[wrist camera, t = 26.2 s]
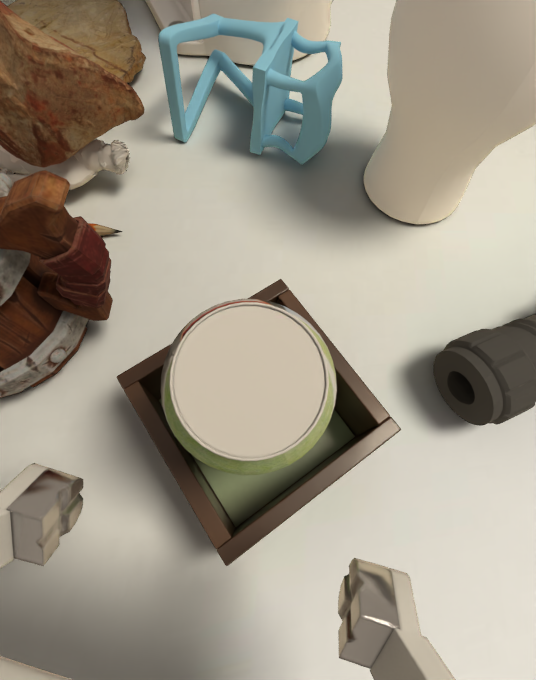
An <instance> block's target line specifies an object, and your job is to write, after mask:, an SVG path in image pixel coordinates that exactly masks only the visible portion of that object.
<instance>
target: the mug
mask: <svg viewBox="0 0 536 680" xmlns="http://www.w3.org/2000/svg"><path fill="white" fill-rule="evenodd" d="M69 187H70V183H69V182H68V180H67V179H65V178H63V177H60V176H58V175H56V174H54V173H51V172H49V171H47V170H43V171H39V172H36V173H34V174H31V175H29V176H27V177H24V178H22V179H20V180H17V181H15V182H14V184H13V186H12V181H11V179H10V178H9V177H8V176H7V175H6V174H4V173H1V172H0V398H1V397H5V396H8V395H12V394H16V393H20V392H22V391H23V390H24V389H25V388H27V387H29V386H31V387H35V386H36V385H38V384H40V383H41V382H43V381H45V380H46V379H48V378H50V377H51V376H53V375H55V374H56V373H57V372H58V371H59V370H60V369H61V368H62V367H63V366H64V365H65V364H66V363H67V361H68V360H69V359H70V358H71V357H72V356H73V355H74V354H75V353H76V352H77V351H78V349H79V347H80V344H81V342H82V340H83V338H84V336H85V333H86V331H87V328H86V327H85V326H86V324H87V322H88V320H93V321H99V320H107V319H108V318H109V314H110V310H111V305H112V301H113V300H112V298H111V296H110V294H109V293H108V287H109V284H110V268H111V259H110V258H109V251H108V250H107V249H106V248H105V245H106V244H105V242H104V241H103V239H102V237H101V236H100V235H99V234H98V233H97V232H96V231H95V230H94V229H93V228H92V227H91V226H90V225H89V224H88V223H87V222H86V221H85V220H84V219H83V218H82V217H81V216H80V217H75V218H73V217H71V216H70V215H69V213H68V212H67V210H66V208H65V207H64V203H65V200H66V196H67V193H68V190H69Z"/></svg>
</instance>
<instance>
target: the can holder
mask: <svg viewBox="0 0 536 680" xmlns="http://www.w3.org/2000/svg"><path fill="white" fill-rule="evenodd" d="M248 299H259V300H265V301H271V302H274V303H277V304H280V305H282V306H285V307H287V308H289V309H291V310H292V311H294V312H296V313H298V314H299V315H300V316H302V317H303V318H304V319H305V320H307V321H308V322H309V323H310V324H311V325H312V326H313V327H314V329H315V330H316V331H317V332H318V333H319V334H320V336H321V337H322V339H323V341H324V342H325V344H326V345H327V347H328V350H329V352H330V355H331V357H332V360H333V364H334V368H335V373H336V385H337V392H336V400H335V406H334V409H333V413H332V416H331V419H330V422H329V423H328V425H327V427H326V429H325V431H324V433H323V435H322V436H321V437H320V439H319V440H318V441H317V443H316V444H315V445H314V447H313V448H311V449H310V450H309V451H308V452H307V453H306V454H305V455H304V456H303V457H301V458H300V459H298V460H297V461H295V462H294V463H292V464H290V465H289V466H287V467H284V468H282V469H279V470H277V471H274V472H270V473H265V474H260V475H237V474H231V473H226V472H223V471H220V470H217V469H215V468H212V467H210V466H208V465H206V464H205V463H203V462H201V461H200V460H198V459H196V458H195V457H194V456H193V455H192V454H191V453H189V452H188V451H187V450H186V449H185V448H184V447H183V446H182V444H181V443H180V442H179V440H178V439H177V438H176V437H175V435H174V433H173V432H172V430H171V428H170V426H169V424H168V422H167V419H166V416H165V413H164V410H163V407H162V399H161V374H162V370H163V366H164V361H165V358H166V356H167V354H168V351H169V349H170V347H171V345H172V344H171V345H169V346H167V347H165V348H164V349H162V350H160V351H159V352H157V353H155V354H154V355H152V356H150V357H149V358H147V359H145V360H144V361H142V362H140V363H139V364H137V365H135V366H134V367H132V368H130V369H128V370H127V371H125V372H123V373H122V374H120V375H118V376H117V379H118V381H119V383H120V384H121V386H122V388H123V389H124V391H125V393H126V395H127V397H128V398H129V400H130V402H131V403H132V405H133V407H134V409H135V410H136V412H137V414H138V416H139V417H140V419H141V421H142V422H143V424H144V426H145V428H146V429H147V431H148V433H149V435H150V436H151V438H152V440H153V441H154V443H155V445H156V447H157V448H158V450H159V452H160V454H161V455H162V457H163V459H164V460H165V462H166V464H167V466H168V467H169V469H170V471H171V472H172V474H173V476H174V478H175V479H176V481H177V483H178V485H179V486H180V488H181V490H182V491H183V493H184V495H185V497H186V498H187V500H188V502H189V504H190V505H191V507H192V509H193V510H194V512H195V514H196V516H197V517H198V519H199V521H200V523H201V524H202V526H203V528H204V529H205V531H206V533H207V535H208V536H209V538H210V540H211V541H212V543H213V545H214V547H215V548H216V549H217V548H218V549H217V552H218V553H219V555H220V557H221V559H222V560H223V562H224V564H225V565H226V566H228V565H229V564H230V563H232V562H233V561H234V560H236V559H237V558H238V557H239V556H241V555H242V554H243V553H245V552H246V551H247V550H248V549H250V548H251V547H252V546H254V545H255V544H256V543H257V542H259V541H260V540H261V539H262V538H264V537H265V536H266V535H268V534H269V533H270V532H271V531H273V530H274V529H275V528H277V527H278V526H279V525H280V524H282V523H283V522H284V521H285V520H287V519H288V518H289V517H291V516H292V515H293V514H294V513H296V512H297V511H298V510H300V509H301V508H302V507H303V506H305V505H306V504H307V503H308V502H310V501H311V500H312V499H314V498H315V497H316V496H317V495H319V494H320V493H321V492H323V491H324V490H325V489H326V488H328V487H329V486H330V485H331V484H333V483H334V482H335V481H337V480H338V479H339V478H340V477H342V476H343V475H344V474H346V473H347V472H348V471H349V470H351V469H352V468H353V467H354V466H356V465H357V464H358V463H360V462H361V461H362V460H363V459H365V458H366V457H367V456H369V455H370V454H371V453H372V452H374V451H375V450H376V449H378V448H379V447H380V446H381V445H383V444H384V443H385V442H386V441H388V440H389V439H390V438H392V437H393V436H394V435H395V434H397V433H398V432H399V431H400V430H401V429H400V427H399V426H398V425H397V424H396V422H395V421H394V420H393V419H392V417H390V415H389V414H388V412H387V411H386V410H385V409H384V407H383V406H382V405H381V404H380V402H379V401H378V400H377V399H376V397H375V396H374V395H373V394H372V392H371V391H370V390H369V389H368V387H367V386H366V385H365V384H364V382H363V381H362V380H361V378H360V377H359V376H358V375H357V373H356V372H355V371H354V370H353V368H352V367H351V366H350V365H349V363H348V362H347V361H346V360H345V358H344V357H343V356H342V355H341V353H340V352H339V351H338V350H337V348H336V347H335V346H334V345H333V343H332V342H331V341H330V340H329V338H328V337H327V336H326V335H325V333H324V332H323V331H322V330H321V328H320V327H319V326H318V325H317V323H316V322H315V321H314V320H313V318H312V317H311V316H310V315H309V313H308V312H307V311H306V310H305V308H304V307H303V306H302V305H301V303H300V302H299V301H298V300H297V298H296V297H295V296H294V295H293V293H292V292H291V291H290V290H289V288H288V287H287V286H286V284H285V283H284V282H283V281H282V280H281V279H280V280H278V281H277V282H275V283H273V284H272V285H270V286H268V287H266V288H265V289H263V290H261V291H260V292H258V293H256V294H255V295H253V296H251V297H250V298H248Z"/></svg>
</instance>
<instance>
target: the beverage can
mask: <svg viewBox="0 0 536 680" xmlns="http://www.w3.org/2000/svg"><path fill="white" fill-rule="evenodd" d="M336 392H337V385H336V373H335V368H334V364H333V360H332V357H331V355H330V352H329V350H328V347H327V345H326V344H325V342H324V341H323V339H322V337H321V336H320V334H319V333H318V332H317V331H316V330H315V329H314V327H313V326H312V325H311V324H310V323H309V322H308V321H307V320H305V319H304V318H303V317H302V316H300V315H299V314H298V313H296V312H294V311H292V310H291V309H289V308H287V307H285V306H282V305H280V304H277V303H274V302H271V301H265V300H259V299H239V300H233V301H227V302H224V303H221V304H218V305H215V306H213V307H211V308H209V309H208V310H206V311H204V312H202V313H200V314H199V315H198V316H196V317H195V318H194V319H193V320H191V321H190V322H189V323H188V324H187V325H186V326H185V327H184V328H183V329H182V331H181V332H180V333H179V334H178V336H177V337H176V339H175V340H174V342H173V343H172V345H171V347H170V349H169V351H168V354H167V356H166V358H165V361H164V366H163V370H162V374H161V399H162V407H163V410H164V413H165V416H166V419H167V422H168V424H169V426H170V428H171V430H172V432H173V433H174V435H175V437H176V438H177V439H178V440H179V442H180V443H181V444H182V446H183V447H184V448H185V449H186V450H187V451H188V452H189V453H191V454H192V455H193V456H194V457H195V458H196V459H198V460H200V461H201V462H203V463H205V464H206V465H208V466H210V467H212V468H215V469H217V470H220V471H223V472H226V473H231V474H237V475H260V474H265V473H270V472H274V471H277V470H279V469H282V468H284V467H287V466H289V465H290V464H292V463H294V462H295V461H297V460H298V459H300V458H301V457H303V456H304V455H305V454H306V453H307V452H308V451H309V450H310V449H311V448H313V447H314V445H315V444H316V443H317V441H318V440H319V439H320V437H321V436H322V435H323V433H324V431H325V429H326V427H327V425H328V423H329V422H330V419H331V416H332V413H333V409H334V406H335V400H336Z"/></svg>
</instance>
